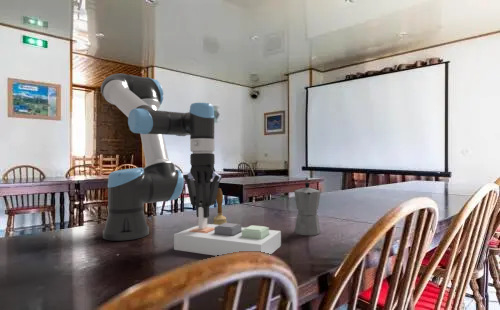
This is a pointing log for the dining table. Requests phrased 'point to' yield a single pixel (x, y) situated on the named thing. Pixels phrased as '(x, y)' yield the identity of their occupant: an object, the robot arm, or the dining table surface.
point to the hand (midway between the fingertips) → (202, 227)
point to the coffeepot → (307, 211)
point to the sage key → (255, 232)
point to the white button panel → (224, 242)
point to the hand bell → (219, 209)
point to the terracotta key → (203, 230)
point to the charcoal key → (228, 229)
